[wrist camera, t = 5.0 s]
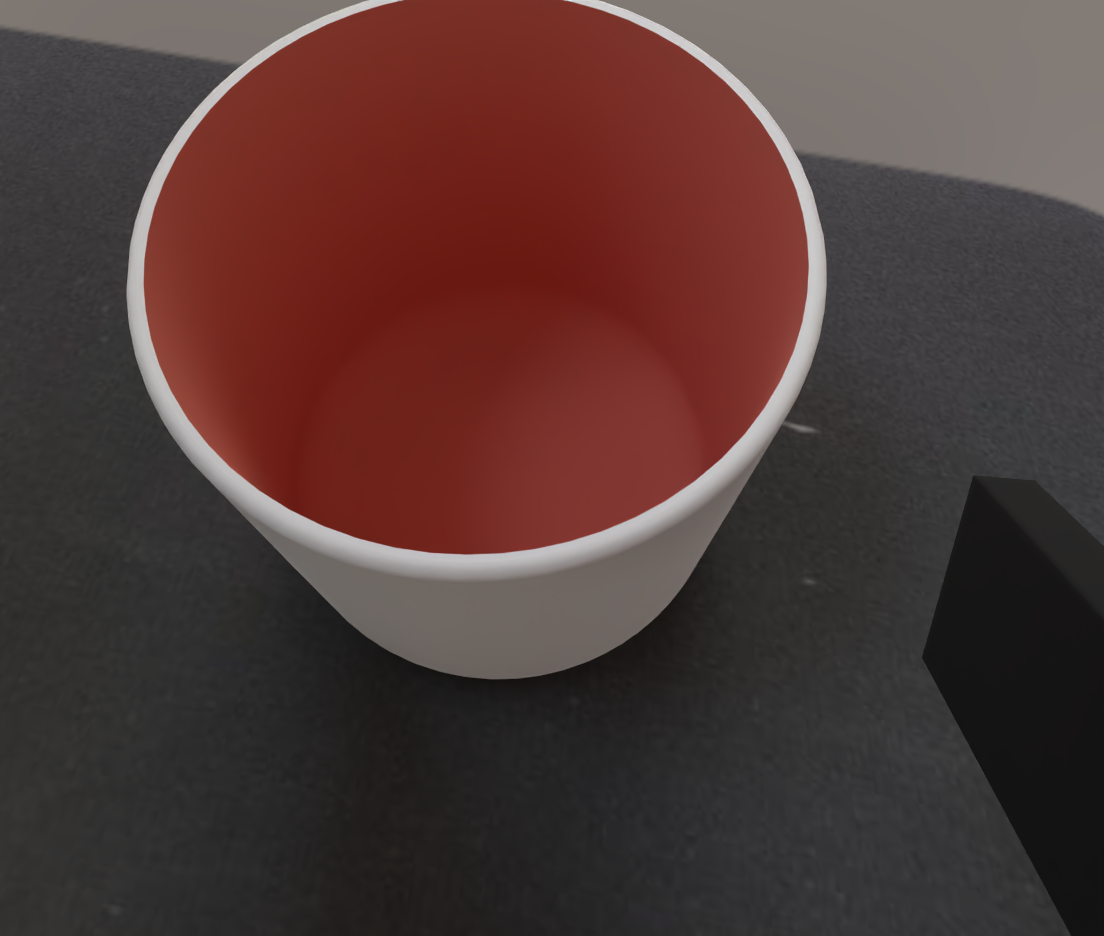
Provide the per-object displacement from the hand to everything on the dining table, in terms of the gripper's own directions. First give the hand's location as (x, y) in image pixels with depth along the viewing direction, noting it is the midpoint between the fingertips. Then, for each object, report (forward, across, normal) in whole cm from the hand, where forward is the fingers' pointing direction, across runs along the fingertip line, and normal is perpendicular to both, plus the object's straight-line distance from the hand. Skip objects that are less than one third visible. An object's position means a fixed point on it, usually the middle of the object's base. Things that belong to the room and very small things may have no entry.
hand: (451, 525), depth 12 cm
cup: (+10, 0, -4) cm, 11 cm away
